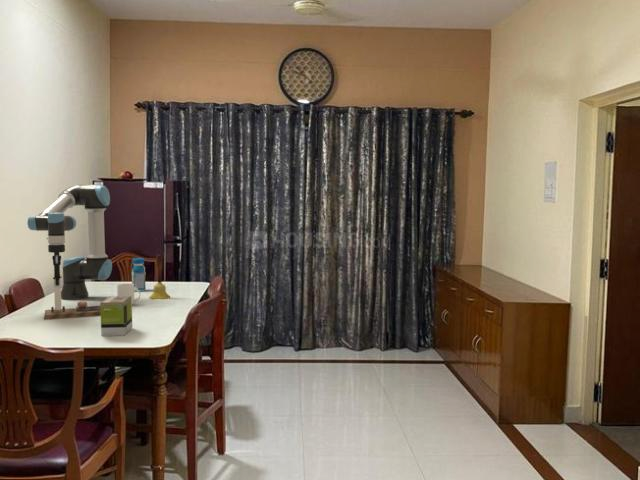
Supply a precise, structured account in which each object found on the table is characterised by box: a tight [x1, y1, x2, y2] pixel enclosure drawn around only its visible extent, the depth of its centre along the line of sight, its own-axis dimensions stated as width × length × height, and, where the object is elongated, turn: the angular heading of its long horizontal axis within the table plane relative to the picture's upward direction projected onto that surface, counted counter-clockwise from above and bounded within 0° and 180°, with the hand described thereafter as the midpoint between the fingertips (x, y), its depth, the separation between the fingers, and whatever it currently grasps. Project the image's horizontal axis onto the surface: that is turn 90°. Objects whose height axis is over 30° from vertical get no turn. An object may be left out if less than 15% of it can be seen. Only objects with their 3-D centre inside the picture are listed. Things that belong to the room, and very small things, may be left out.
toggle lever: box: [53, 286, 63, 310], centre depth 293 cm, size 3×1×11 cm, turn 113°
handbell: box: [148, 254, 171, 300], centre depth 345 cm, size 12×12×25 cm
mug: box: [116, 283, 141, 305], centre depth 324 cm, size 9×12×11 cm
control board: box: [43, 305, 101, 320], centre depth 297 cm, size 36×14×4 cm, turn 113°
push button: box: [76, 301, 88, 307], centre depth 296 cm, size 4×4×2 cm
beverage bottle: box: [131, 257, 147, 292], centre depth 370 cm, size 8×8×20 cm
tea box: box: [99, 295, 133, 337], centre depth 259 cm, size 15×10×15 cm
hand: (57, 291), depth 295 cm, fingers closed
